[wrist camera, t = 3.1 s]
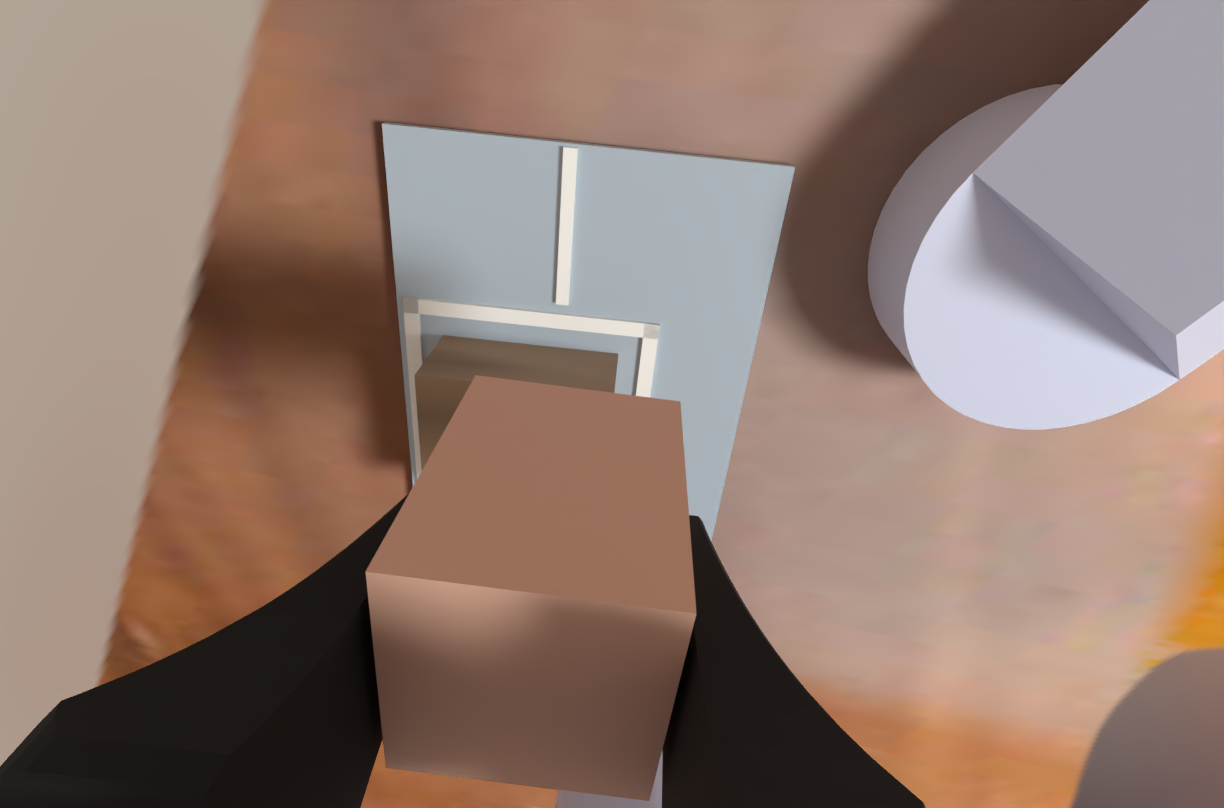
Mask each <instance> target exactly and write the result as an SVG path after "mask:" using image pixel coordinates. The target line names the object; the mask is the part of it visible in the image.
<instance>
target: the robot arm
mask: <svg viewBox="0 0 1224 808" xmlns="http://www.w3.org/2000/svg"><path fill="white" fill-rule="evenodd" d="M408 495H409V494H408ZM408 495H407V496H405V497H404V498H403V499H402V500H401V501H400V502H399V503H398V504H397V505H396V506H394V507H393V508H392V509H391V510H390V511H389V512H388V513H387V514H385V515H384V516H383V517H382V518H381V519H380V520H379V521H378V522H376V523H375V524H374V525H373V526H372V527H370V528H369V529H368V530H367V531H366V532H365V533H363V534H362V535H361V536H360V537H359V538H357V539H356V540H355V541H354V542H353V543H351V544H350V545H349V546H348V547H347V548H345V549H344V550H343V551H341V552H340V553H339V554H337V555H336V556H335V557H334V558H332V559H331V560H330V561H328V562H327V563H326V564H324V565H323V566H322V567H320V568H319V569H318V570H316V571H315V572H314V573H312V574H311V575H310V576H308V577H307V578H305V579H304V580H303V581H301V582H300V583H298V584H297V585H295V586H294V587H292V588H291V589H289V590H288V591H286V592H285V593H283V594H282V595H280V596H279V597H277V598H276V599H274V600H272V601H271V602H269V603H268V604H266V605H264V606H263V607H261V608H259V609H258V610H256V611H254V612H252V613H251V614H249V615H247V616H245V617H243V618H242V619H240V620H238V621H236V622H234V623H233V624H231V625H229V626H227V627H225V628H224V629H222V630H220V631H218V632H216V633H215V634H213V635H211V636H209V637H207V638H205V639H203V640H201V641H199V642H197V643H195V644H193V645H191V646H189V647H187V648H185V649H183V650H181V651H179V652H177V653H175V654H172V655H170V656H168V657H166V658H164V659H162V660H159V661H157V662H155V663H153V664H151V665H149V666H146V667H144V668H142V669H139V670H137V671H135V672H133V673H130V674H128V675H125V676H123V677H120V678H118V679H115V680H113V681H110V682H108V683H105V684H103V685H100V686H98V687H95V688H93V689H90V690H88V691H86V692H83V693H81V694H78V695H76V696H73V697H70V698H68V699H65V700H62V701H61V702H60V703H59V704H58V705H57V706H56V707H55V708H54V709H53V710H52V711H51V712H50V713H49V714H48V715H47V716H46V717H45V718H44V719H43V720H42V721H41V722H40V723H39V724H38V725H37V726H36V728H34V729H33V731H32V732H31V733H30V734H29V735H28V736H27V737H26V739H25V740H24V741H23V742H22V743H21V744H20V745H19V746H18V747H17V748H16V750H15V751H14V752H13V753H12V754H11V755H10V756H9V757H8V758H7V760H6V761H5V762H4V763H3V764H2V765H1V766H0V808H360V807H361V804H362V800H363V797H364V794H365V791H366V788H367V785H368V781H369V778H370V775H371V772H372V769H373V766H374V763H375V760H376V757H377V754H378V751H379V748H380V745H381V742H382V739H383V736H382V726H381V717H380V707H379V697H378V688H377V678H376V668H375V659H374V649H373V640H372V630H371V620H370V611H369V601H368V591H367V582H366V570H367V568H368V566H369V565H370V563H371V561H372V559H373V557H374V556H375V554H376V552H377V550H378V548H379V547H380V545H381V543H382V541H383V540H384V538H385V536H386V534H387V532H388V531H389V529H390V527H391V525H392V523H393V522H394V520H395V518H396V516H397V515H398V513H399V511H400V509H401V507H402V506H403V504H404V502H405V500H406V499H407V497H408ZM689 522H690V535H691V548H692V561H693V574H694V587H695V600H696V618H695V622H694V626H693V630H692V634H691V638H690V642H689V646H688V650H687V653H686V657H685V661H684V665H683V669H682V673H681V677H680V681H679V685H678V689H677V693H676V697H675V701H674V705H673V709H672V713H671V717H670V721H669V725H668V729H667V733H666V737H665V741H664V745H663V749H662V753H661V757H660V761H659V765H658V769H657V773H656V777H655V781H654V784H653V788H652V792H651V796H650V800H649V801H645V800H637V799H629V798H621V797H613V796H605V795H597V794H589V793H581V792H573V791H565V790H557V797H556V805H555V808H925V805H924V803H923V802H922V801H921V800H920V799H918V798H917V797H916V796H915V795H914V794H913V793H912V792H910V791H909V790H908V789H907V788H906V787H905V786H903V785H902V784H901V783H900V782H899V781H898V780H897V779H895V778H894V777H893V776H892V775H891V774H890V773H888V772H887V771H886V770H885V769H884V768H883V767H882V766H880V765H879V764H878V763H877V762H876V761H875V760H874V759H872V758H871V757H870V756H869V755H868V754H867V753H866V752H865V751H864V750H863V749H862V748H861V747H860V746H859V745H858V744H857V743H856V742H855V741H854V740H853V739H852V738H851V737H850V736H849V735H848V734H847V733H846V732H844V731H843V730H842V729H841V728H840V726H839V725H838V724H837V723H836V722H835V721H834V720H833V719H832V718H831V717H830V716H829V714H828V713H827V712H826V711H825V710H824V709H823V708H822V707H821V706H820V705H819V704H818V702H817V701H816V700H815V699H814V698H813V697H812V696H811V695H810V694H809V693H808V691H807V690H806V689H805V688H804V687H803V685H802V684H801V683H800V682H799V680H798V679H797V678H796V677H795V676H794V674H793V673H792V672H791V671H790V669H789V668H788V667H787V666H786V664H785V663H784V662H783V660H782V659H781V658H780V656H779V655H778V654H777V652H776V651H775V650H774V648H773V647H772V645H771V644H770V643H769V641H768V640H767V638H766V637H765V635H764V634H763V632H762V631H761V630H760V628H759V626H758V625H757V623H756V622H755V620H754V619H753V617H752V616H751V614H750V613H749V611H748V609H747V608H746V606H745V604H744V603H743V601H742V599H741V598H740V596H739V594H738V592H737V591H736V589H735V587H734V585H733V583H732V582H731V580H730V578H729V576H728V575H727V573H726V571H725V569H724V567H723V565H722V563H721V561H720V559H719V557H718V555H717V553H716V551H715V549H714V547H713V545H712V542H711V540H710V538H709V536H708V533H707V531H706V529H705V526H704V524H703V521H702V520H701V519H700V517H699V516H693V515H689Z"/></svg>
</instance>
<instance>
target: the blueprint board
mask: <svg viewBox="0 0 1224 808" xmlns="http://www.w3.org/2000/svg"><path fill="white" fill-rule="evenodd" d="M382 132H383V144H384V155H385V167H386V179H387V191H388V202H389V214H390V226H391V237H392V249H393V261H394V272H395V284H396V296H397V308H398V319H399V331H400V343H401V354H402V366H403V378H404V389H405V401H406V413H407V425H408V436H409V448H410V460H411V471H412V483H413V486H414V484H415V482H416V481H417V479H418V477H419V475H420V474H421V472H422V470H421V457H420V444H419V430H418V417H417V404H416V391H415V378H414V375H415V374H416V372H417V371H418V370H419V368H420V367H421V365H422V364H423V363H424V361H425V360H426V359H427V357H428V356H429V354H430V353H431V352H432V350H433V349H434V347H435V346H436V345H437V343H438V342H439V340H440V339H441V338H442V336H443V335H447V336H456V337H466V338H475V339H484V340H494V341H503V342H513V343H522V344H531V345H541V346H550V347H560V348H569V349H578V350H588V351H597V352H607V353H616V354H618V364H617V373H616V383H615V392H614V393H619V394H627V395H634V396H642V397H650V398H658V399H666V400H673V401H680V403H681V416H682V430H683V443H684V456H685V469H686V482H687V495H688V508H689V515H693V516H699V517H700V519H701V520H702V521H703V524H704V526H705V529H706V531H707V533H708V536H709V538H710V540H711V541H712V536H713V532H714V527H715V523H716V519H717V514H718V510H719V505H720V501H721V496H722V492H723V487H724V483H725V478H726V474H727V470H728V465H729V461H730V456H731V452H732V447H733V443H734V438H735V434H736V429H737V425H738V420H739V416H740V412H741V407H742V403H743V398H744V394H745V389H746V385H747V380H748V376H749V371H750V367H751V363H752V358H753V354H754V349H755V345H756V340H757V336H758V331H759V327H760V322H761V318H762V314H763V309H764V305H765V300H766V296H767V291H768V287H769V282H770V278H771V273H772V269H773V264H774V260H775V256H776V251H777V247H778V242H779V238H780V233H781V229H782V224H783V220H784V215H785V211H786V207H787V202H788V198H789V193H790V189H791V184H792V180H793V175H794V171H795V166H794V165H791V164H781V163H772V162H762V161H753V160H743V159H734V158H724V157H715V156H705V155H696V154H686V153H677V152H667V151H658V150H648V149H639V148H629V147H620V146H610V145H601V144H591V143H582V142H572V141H563V140H553V139H544V138H534V137H525V136H515V135H506V134H496V133H487V132H477V131H468V130H458V129H449V128H439V127H429V126H420V125H410V124H401V123H391V122H385V123H382Z"/></svg>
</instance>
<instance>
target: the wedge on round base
mask: <svg viewBox="0 0 1224 808" xmlns="http://www.w3.org/2000/svg"><path fill="white" fill-rule="evenodd" d="M868 288H869V293H870V298H871V303H872V306H873V309H874V311H875V314H876V317H877V319H878V321H879V323H880V325H881V326H882V328H883V330H884V331H885V333H886V335H887V336H888V337H889V338H890V340H891V341H892V342H893V343H894V345H895V346H896V347H897V348H898V350H899V351H900V352H901V353H902V355H903V356H904V357H905V358H906V360H907V361H908V362H909V363H910V365H911V366H912V367H913V368H914V370H915V371H916V372H917V373H918V375H919V376H920V377H921V378H922V380H923V381H924V382H925V383H926V384H927V386H928V387H929V388H930V389H931V390H932V392H933V393H934V394H935V395H936V396H938V397H939V398H940V399H941V400H942V401H944V402H945V403H946V404H947V405H948V406H950V407H952V408H953V409H955V410H957V411H958V412H960V413H962V414H963V415H966V416H968V417H971V418H973V419H976V420H978V421H980V422H984V423H988V424H992V425H996V426H999V427H1006V428H1014V429H1052V428H1061V427H1068V426H1073V425H1078V424H1083V423H1088V422H1091V421H1094V420H1098V419H1101V418H1104V417H1107V416H1111V415H1113V414H1116V413H1118V412H1121V411H1123V410H1125V409H1128V408H1130V407H1133V406H1135V405H1137V404H1139V403H1141V402H1143V401H1145V400H1147V399H1149V398H1151V397H1152V396H1154V395H1156V394H1158V393H1160V392H1161V391H1163V390H1164V389H1166V388H1168V387H1169V386H1171V385H1172V384H1174V383H1175V382H1177V381H1179V380H1180V379H1182V378H1183V377H1184V376H1186V375H1187V374H1189V373H1190V372H1192V371H1193V370H1195V369H1196V368H1197V367H1199V366H1200V365H1202V364H1203V363H1205V362H1206V361H1207V360H1209V359H1210V358H1212V357H1213V356H1215V355H1216V354H1217V353H1219V352H1220V351H1222V350H1223V349H1224V0H1149V1H1148V2H1147V3H1146V4H1145V5H1144V6H1143V7H1142V8H1141V9H1140V10H1139V11H1138V12H1137V13H1136V14H1135V15H1134V16H1133V17H1132V18H1131V19H1130V20H1129V21H1128V22H1127V23H1126V24H1125V25H1124V26H1123V27H1122V28H1121V29H1119V30H1118V31H1117V32H1116V33H1115V34H1114V35H1113V36H1112V37H1111V38H1110V39H1109V40H1108V41H1107V42H1106V43H1105V44H1104V45H1103V46H1102V47H1101V48H1100V49H1099V50H1098V51H1097V52H1096V53H1095V54H1094V55H1093V56H1092V57H1091V58H1090V59H1089V60H1088V61H1087V62H1086V63H1085V64H1084V65H1083V66H1082V67H1081V68H1080V69H1079V70H1078V71H1076V72H1075V73H1074V74H1073V75H1072V76H1071V77H1070V78H1069V79H1068V80H1067V81H1066V82H1065V83H1064V84H1055V85H1049V86H1043V87H1037V88H1032V89H1028V90H1025V91H1022V92H1018V93H1015V94H1012V95H1009V96H1006V97H1004V98H1001V99H999V100H997V101H995V102H992V103H990V104H988V105H986V106H983V107H982V108H980V109H978V110H977V111H975V112H973V113H971V114H970V115H968V116H966V117H965V118H963V119H961V120H960V121H959V122H957V123H956V124H955V125H953V126H952V127H950V128H949V129H948V130H946V131H945V132H944V133H942V134H941V135H940V136H939V137H938V138H937V139H936V140H935V141H933V142H932V143H931V144H930V145H929V146H928V147H927V148H926V149H925V150H924V151H923V152H922V153H921V154H920V155H919V156H918V157H917V159H916V160H915V161H914V162H913V163H912V164H911V165H910V167H909V168H908V169H907V170H906V171H905V173H904V174H903V176H902V177H901V179H900V180H899V182H898V183H897V184H896V186H895V187H894V189H893V190H892V192H891V194H890V196H889V198H888V200H887V202H886V203H885V205H884V207H883V209H882V211H881V214H880V217H879V219H878V222H877V224H876V227H875V230H874V233H873V237H872V242H871V246H870V250H869V259H868Z"/></svg>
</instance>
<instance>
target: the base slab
mask: <svg viewBox="0 0 1224 808" xmlns="http://www.w3.org/2000/svg"><path fill="white" fill-rule="evenodd" d="M617 364H618V354H616V353H607V352H597V351H588V350H578V349H569V348H560V347H550V346H541V345H531V344H522V343H513V342H503V341H494V340H484V339H475V338H466V337H456V336H447V335H443V336H442V338H441V339H440V340H439V342H438V343H437V345H436V346H435V347H434V349H433V350H432V352H431V353H430V354H429V356H428V357H427V359H426V360H425V361H424V363H423V364H422V365H421V367H420V368H419V370H418V371H417V372H416V374H415V375H414V378H415V391H416V404H417V417H418V430H419V444H420V457H421V470H423V468H424V466H425V465H426V463H427V461H428V459H429V457H430V456H431V454H432V452H433V450H434V449H435V447H436V445H437V443H438V441H439V440H440V438H441V436H442V434H443V432H444V431H445V429H446V427H447V425H448V424H449V422H450V420H451V418H452V416H453V415H454V413H455V411H456V409H457V407H458V406H459V404H460V402H461V400H462V399H463V397H464V395H465V393H466V391H467V390H468V388H469V386H470V384H471V382H472V381H473V379H474V377H475V375H478V376H486V377H494V378H502V379H509V380H517V381H525V382H533V383H541V384H548V385H556V386H564V387H572V388H580V389H587V390H595V391H603V392H611V393H614V392H615V383H616V373H617Z"/></svg>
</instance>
